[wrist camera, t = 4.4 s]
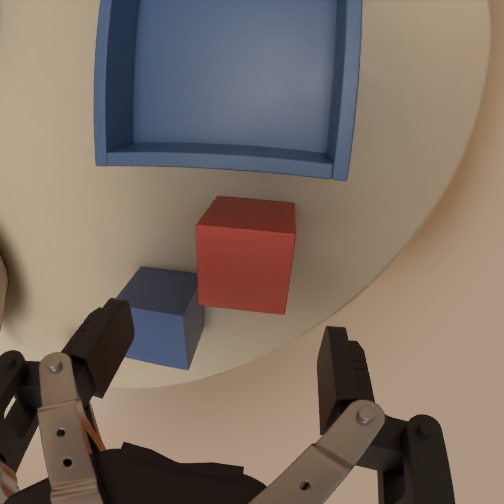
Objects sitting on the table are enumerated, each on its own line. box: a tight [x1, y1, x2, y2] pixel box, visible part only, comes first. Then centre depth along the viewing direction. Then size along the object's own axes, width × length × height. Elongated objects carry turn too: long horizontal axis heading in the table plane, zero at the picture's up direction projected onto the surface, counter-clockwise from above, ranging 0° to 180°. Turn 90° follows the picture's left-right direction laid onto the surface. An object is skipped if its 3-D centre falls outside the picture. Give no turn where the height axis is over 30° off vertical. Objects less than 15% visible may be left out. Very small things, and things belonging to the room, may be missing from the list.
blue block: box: [116, 267, 204, 370], centre depth 22 cm, size 5×5×5 cm
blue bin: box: [94, 0, 362, 181], centre depth 14 cm, size 14×14×4 cm
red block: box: [196, 196, 296, 315], centre depth 19 cm, size 5×5×5 cm
